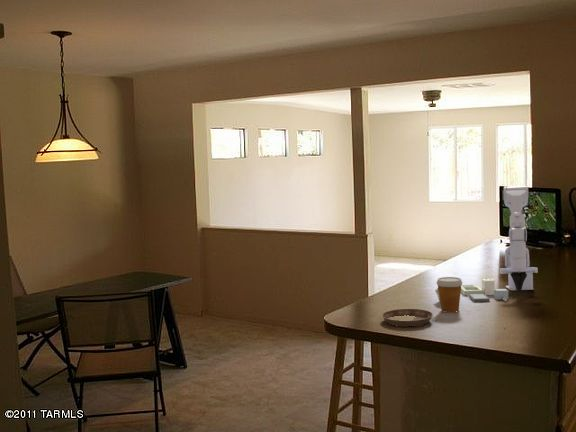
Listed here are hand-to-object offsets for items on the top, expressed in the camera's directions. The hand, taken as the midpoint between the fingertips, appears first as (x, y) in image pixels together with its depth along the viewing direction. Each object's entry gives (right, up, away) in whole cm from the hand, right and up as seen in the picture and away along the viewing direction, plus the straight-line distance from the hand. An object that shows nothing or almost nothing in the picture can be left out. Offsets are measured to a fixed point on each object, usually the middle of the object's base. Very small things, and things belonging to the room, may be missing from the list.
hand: (518, 290), depth 242 cm
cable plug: (-7, -3, -2) cm, 8 cm away
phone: (-16, -4, +1) cm, 16 cm away
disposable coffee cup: (-32, -6, -15) cm, 35 cm away
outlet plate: (-15, -2, +14) cm, 21 cm away
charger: (-9, -3, +10) cm, 13 cm away
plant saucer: (-50, -8, -28) cm, 58 cm away
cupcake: (-29, -5, -1) cm, 29 cm away
